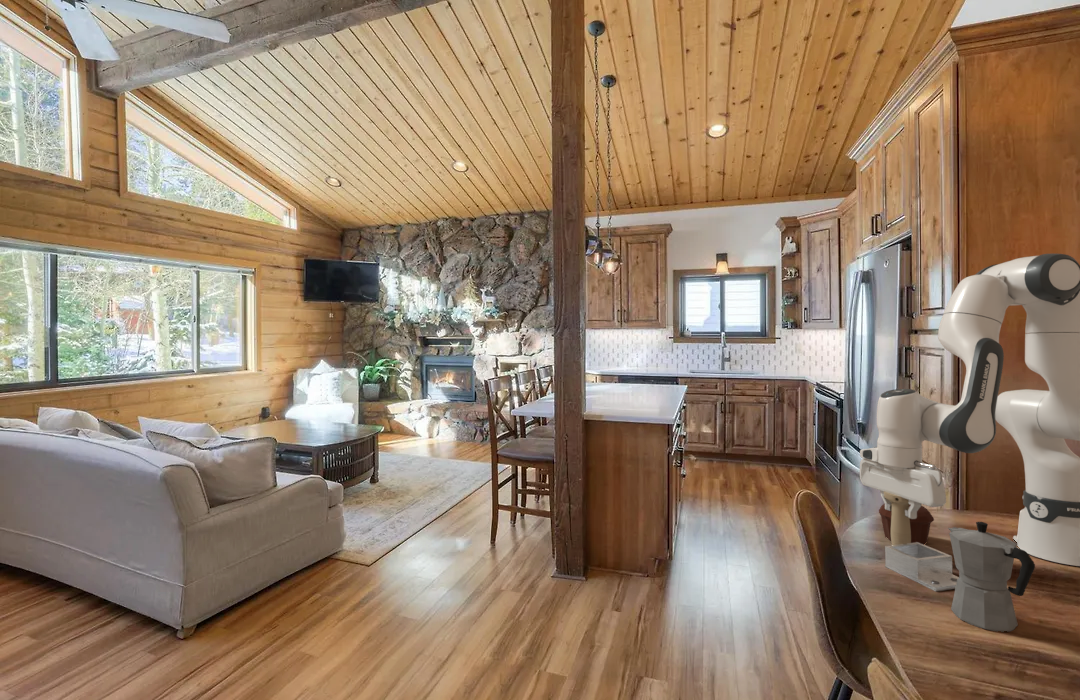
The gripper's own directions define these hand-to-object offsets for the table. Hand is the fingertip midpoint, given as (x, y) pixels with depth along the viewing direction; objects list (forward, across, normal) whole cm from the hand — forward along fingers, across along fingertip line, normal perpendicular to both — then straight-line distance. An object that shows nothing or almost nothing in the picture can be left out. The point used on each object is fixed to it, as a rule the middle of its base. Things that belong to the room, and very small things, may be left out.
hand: (900, 514), depth 121 cm
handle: (+10, 0, 0) cm, 10 cm away
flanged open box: (+10, -10, +4) cm, 15 cm away
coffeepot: (+10, -27, +10) cm, 31 cm away
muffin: (+10, +8, -10) cm, 16 cm away
